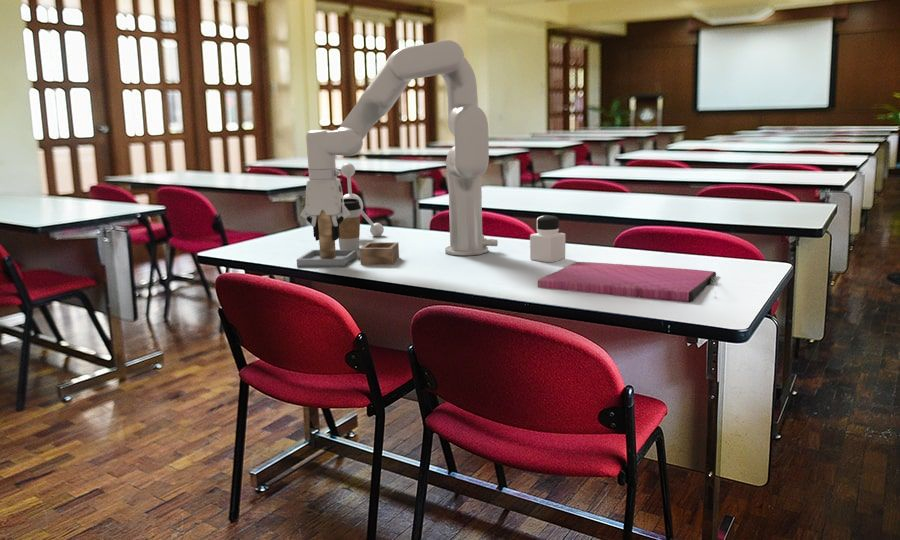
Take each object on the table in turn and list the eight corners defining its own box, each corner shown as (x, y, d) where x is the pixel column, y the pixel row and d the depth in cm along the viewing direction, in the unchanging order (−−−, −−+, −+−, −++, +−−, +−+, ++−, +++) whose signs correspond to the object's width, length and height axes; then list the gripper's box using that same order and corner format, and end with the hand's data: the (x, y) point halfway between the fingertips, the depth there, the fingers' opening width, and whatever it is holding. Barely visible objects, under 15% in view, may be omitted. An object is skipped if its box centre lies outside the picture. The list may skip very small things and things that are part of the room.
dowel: (337, 255, 221) (334, 207, 218) (333, 259, 217) (330, 209, 214) (323, 255, 222) (319, 207, 219) (318, 259, 218) (314, 209, 215)
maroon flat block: (536, 273, 183) (576, 254, 206) (536, 289, 184) (575, 269, 207) (711, 287, 164) (733, 264, 187) (710, 305, 165) (732, 281, 188)
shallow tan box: (399, 257, 222) (398, 242, 221) (392, 264, 213) (391, 248, 212) (368, 257, 223) (367, 242, 222) (360, 264, 215) (359, 248, 214)
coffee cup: (365, 245, 242) (363, 198, 238) (360, 251, 233) (357, 201, 230) (339, 246, 242) (336, 198, 239) (332, 251, 234) (329, 202, 231)
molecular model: (331, 235, 265) (325, 162, 260) (386, 234, 262) (381, 160, 257) (314, 245, 247) (307, 166, 242) (374, 243, 245) (368, 164, 239)
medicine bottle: (565, 258, 215) (566, 215, 212) (550, 263, 210) (550, 219, 207) (545, 255, 219) (544, 213, 217) (529, 259, 214) (529, 217, 212)
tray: (357, 256, 225) (357, 249, 225) (344, 266, 212) (344, 259, 212) (312, 256, 227) (312, 249, 227) (297, 266, 214) (296, 259, 214)
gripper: (355, 173, 217) (359, 237, 221) (297, 174, 219) (302, 237, 223) (348, 175, 209) (352, 242, 213) (288, 177, 212) (293, 242, 216)
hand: (326, 239), depth 218 cm, fingers closed on dowel, 4 cm apart
